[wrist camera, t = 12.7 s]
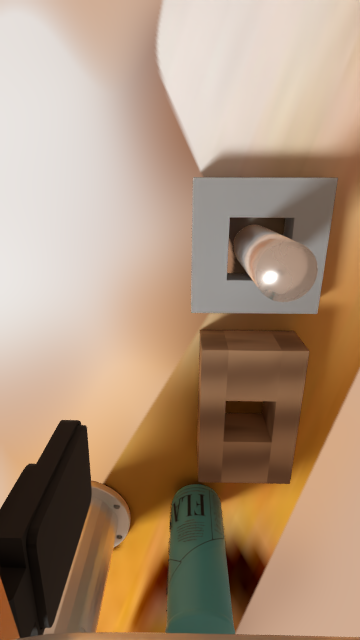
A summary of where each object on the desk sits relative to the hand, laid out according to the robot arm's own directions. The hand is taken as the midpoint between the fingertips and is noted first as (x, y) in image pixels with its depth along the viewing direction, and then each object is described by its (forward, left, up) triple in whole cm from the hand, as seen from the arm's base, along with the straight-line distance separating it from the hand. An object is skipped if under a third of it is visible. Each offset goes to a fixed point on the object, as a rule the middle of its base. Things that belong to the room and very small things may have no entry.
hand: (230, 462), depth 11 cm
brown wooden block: (-14, -5, -26) cm, 29 cm away
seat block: (+3, -5, -26) cm, 26 cm away
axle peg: (+3, -5, -26) cm, 26 cm away
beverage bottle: (-29, 0, -26) cm, 39 cm away
